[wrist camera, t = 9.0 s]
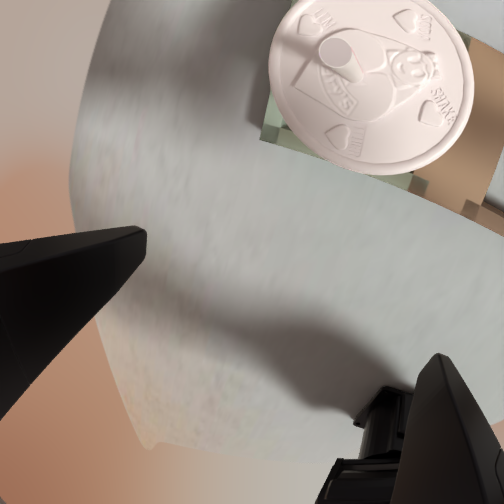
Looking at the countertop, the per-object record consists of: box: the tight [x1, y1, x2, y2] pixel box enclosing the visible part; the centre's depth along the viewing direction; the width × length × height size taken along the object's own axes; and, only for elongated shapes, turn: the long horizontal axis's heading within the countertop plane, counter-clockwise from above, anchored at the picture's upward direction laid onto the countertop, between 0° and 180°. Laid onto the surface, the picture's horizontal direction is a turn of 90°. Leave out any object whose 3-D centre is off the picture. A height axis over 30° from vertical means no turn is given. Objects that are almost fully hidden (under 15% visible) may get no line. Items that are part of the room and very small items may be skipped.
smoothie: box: [268, 0, 474, 175], centre depth 10 cm, size 6×6×14 cm
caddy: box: [260, 0, 504, 237], centre depth 14 cm, size 10×22×2 cm, turn 77°
